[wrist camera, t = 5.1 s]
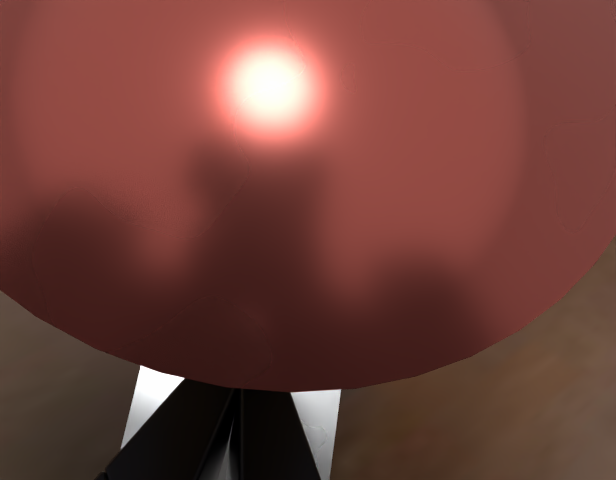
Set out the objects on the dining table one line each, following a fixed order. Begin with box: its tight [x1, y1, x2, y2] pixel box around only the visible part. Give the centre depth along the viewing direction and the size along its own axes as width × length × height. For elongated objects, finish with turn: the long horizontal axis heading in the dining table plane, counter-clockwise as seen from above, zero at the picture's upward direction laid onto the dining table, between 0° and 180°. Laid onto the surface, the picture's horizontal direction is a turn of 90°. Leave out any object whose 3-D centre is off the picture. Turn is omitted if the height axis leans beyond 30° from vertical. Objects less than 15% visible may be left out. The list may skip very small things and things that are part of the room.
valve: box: [0, 0, 616, 392], centre depth 9 cm, size 8×6×13 cm
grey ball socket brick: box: [121, 366, 341, 480], centre depth 12 cm, size 22×10×10 cm, turn 171°
